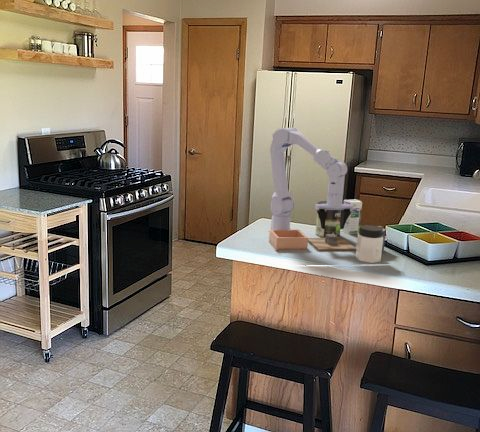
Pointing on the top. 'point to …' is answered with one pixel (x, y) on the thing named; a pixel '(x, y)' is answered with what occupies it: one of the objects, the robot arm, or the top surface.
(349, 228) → the syrup box
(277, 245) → the dish
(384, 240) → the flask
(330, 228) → the coffee can
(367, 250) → the jar
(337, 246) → the lid
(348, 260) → the top surface
